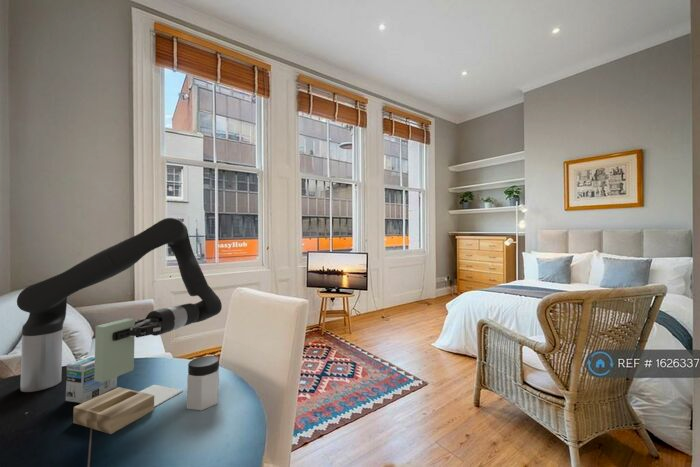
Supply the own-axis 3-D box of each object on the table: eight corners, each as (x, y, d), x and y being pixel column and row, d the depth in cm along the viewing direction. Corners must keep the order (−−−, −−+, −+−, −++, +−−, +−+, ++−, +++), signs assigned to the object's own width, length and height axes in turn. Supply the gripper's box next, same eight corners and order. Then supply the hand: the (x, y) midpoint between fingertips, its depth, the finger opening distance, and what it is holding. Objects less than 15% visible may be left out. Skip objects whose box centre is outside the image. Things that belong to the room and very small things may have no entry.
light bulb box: (82, 404, 86) (83, 366, 87) (64, 401, 88) (65, 364, 88) (118, 386, 97) (118, 352, 97) (101, 384, 98) (101, 351, 99)
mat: (122, 400, 88) (122, 399, 88) (154, 385, 98) (154, 384, 98) (152, 408, 84) (152, 407, 84) (182, 391, 94) (182, 390, 94)
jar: (217, 408, 85) (218, 365, 85) (185, 413, 82) (185, 369, 82) (219, 392, 93) (220, 353, 94) (190, 397, 90) (190, 357, 91)
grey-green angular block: (94, 380, 77) (95, 326, 78) (126, 368, 85) (127, 318, 85) (102, 382, 76) (103, 327, 77) (133, 369, 84) (134, 319, 84)
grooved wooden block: (73, 422, 78) (73, 407, 78) (118, 400, 88) (119, 387, 88) (111, 434, 73) (111, 417, 73) (154, 409, 84) (154, 395, 84)
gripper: (151, 306, 98) (90, 319, 81) (184, 309, 93) (127, 324, 77) (150, 329, 98) (90, 347, 81) (184, 334, 93) (127, 354, 77)
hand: (108, 336), depth 79 cm, fingers closed on grey-green angular block, 3 cm apart
